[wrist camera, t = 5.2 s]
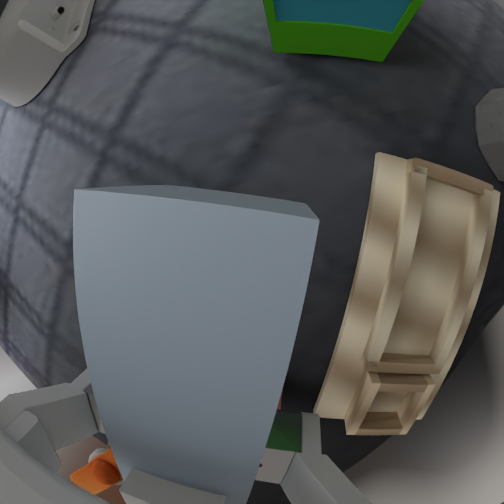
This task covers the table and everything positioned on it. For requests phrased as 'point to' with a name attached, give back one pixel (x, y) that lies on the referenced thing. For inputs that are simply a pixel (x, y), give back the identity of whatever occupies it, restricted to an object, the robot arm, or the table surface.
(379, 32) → the toy car
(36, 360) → the table surface
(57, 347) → the table surface
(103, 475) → the toy helicopter
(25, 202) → the table surface
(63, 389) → the robot arm
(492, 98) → the coffeepot
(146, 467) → the blue slab with cube
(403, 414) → the jig
